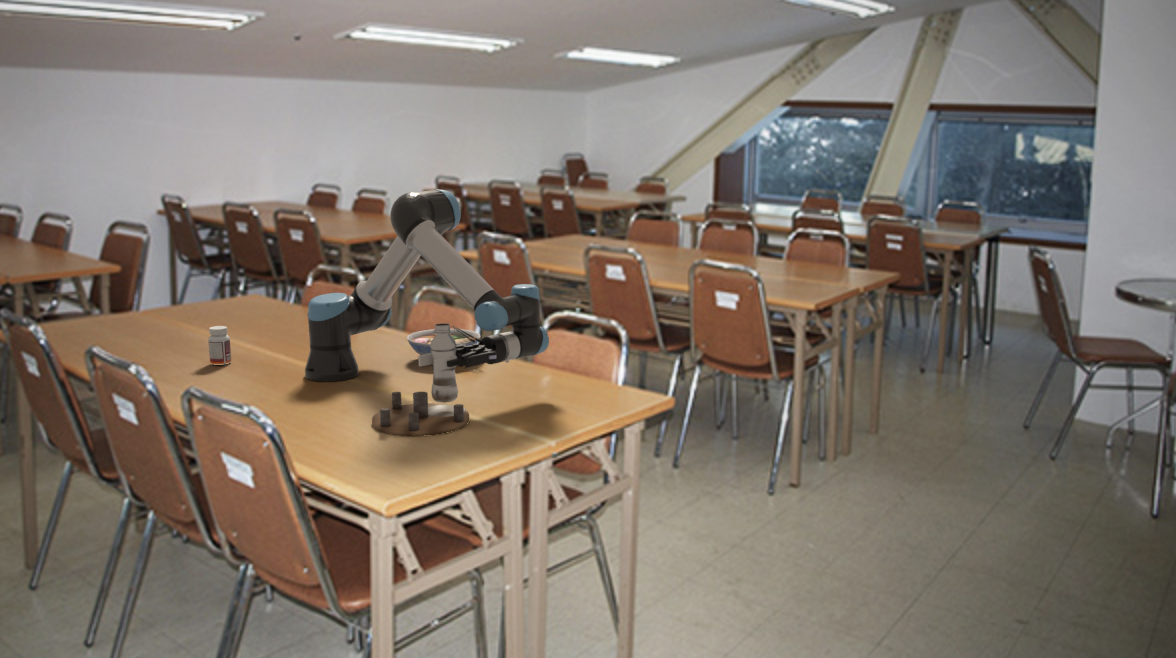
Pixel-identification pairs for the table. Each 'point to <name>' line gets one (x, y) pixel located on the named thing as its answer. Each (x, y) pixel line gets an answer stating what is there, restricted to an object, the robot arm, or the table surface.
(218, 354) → the pill bottle
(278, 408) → the table surface
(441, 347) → the plastic bottle
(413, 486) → the table surface
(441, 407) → the board
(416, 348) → the ramen bowl
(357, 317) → the robot arm
